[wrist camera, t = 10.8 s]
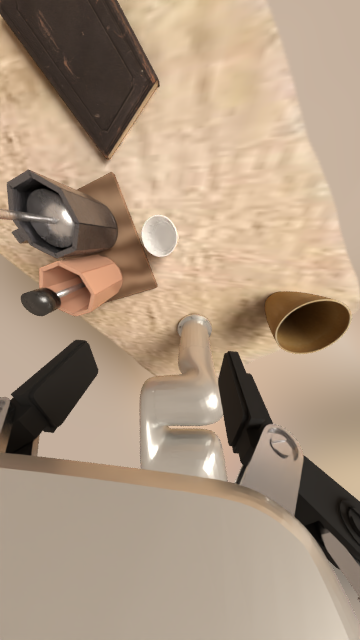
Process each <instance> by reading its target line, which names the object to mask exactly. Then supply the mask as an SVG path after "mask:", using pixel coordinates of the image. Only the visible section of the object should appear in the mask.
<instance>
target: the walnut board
mask: <svg viewBox="0 0 360 640" xmlns="http://www.w3.org/2000/svg"><path fill="white" fill-rule="evenodd" d="M78 191H80V192H82V193H85V194H87V195H89V196H91V197H92V198H94V199H96V200H98V201H100V202H102V203H103V204H105V205H106V206H107V207H108V208H109V209H110V211H111V212H112V214H113V215H114V217H115V220H116V222H117V227H118V237H117V241H116V243H115V244H114V246H113V247H112V248H110V249H108V250H104V251H101V252H99V253H92V254H85V255H77V256H70V257H63V258H64V259H65V260H67V259H73V258H79V257H86V256H92V255H100V256H105V257H108V258H110V259H111V260H113V261H114V262H115V263H116V264H117V265H118V267H119V268H120V270H121V272H122V275H123V284H122V287H121V289H120V290H119V292H118V293H117V294H115V295H114V296H113V297H111V298H110V299H108V300H107V301H106V302H109V301H112V300H116V299H119V298H122V297H126V296H129V295H133V294H136V293H139V292H143V291H146V290H150V289H153V288H156V287H157V283H156V280H155V278H154V275H153V273H152V270H151V268H150V265H149V262H148V260H147V257H146V255H145V252H144V249H143V247H142V244H141V242H140V239H139V237H138V234H137V231H136V229H135V226H134V224H133V221H132V218H131V216H130V213H129V211H128V208H127V206H126V203H125V200H124V198H123V195H122V193H121V190H120V187H119V185H118V182H117V180H116V177H115V175H114V174H113V173H112V172H110V173H108V174H106V175H105V176H103V177H101V178H99V179H97V180H95V181H93V182H91V183H89V184H87V185H85V186H83V187H81V188H79V189H78ZM106 302H104V303H106Z"/></svg>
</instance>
